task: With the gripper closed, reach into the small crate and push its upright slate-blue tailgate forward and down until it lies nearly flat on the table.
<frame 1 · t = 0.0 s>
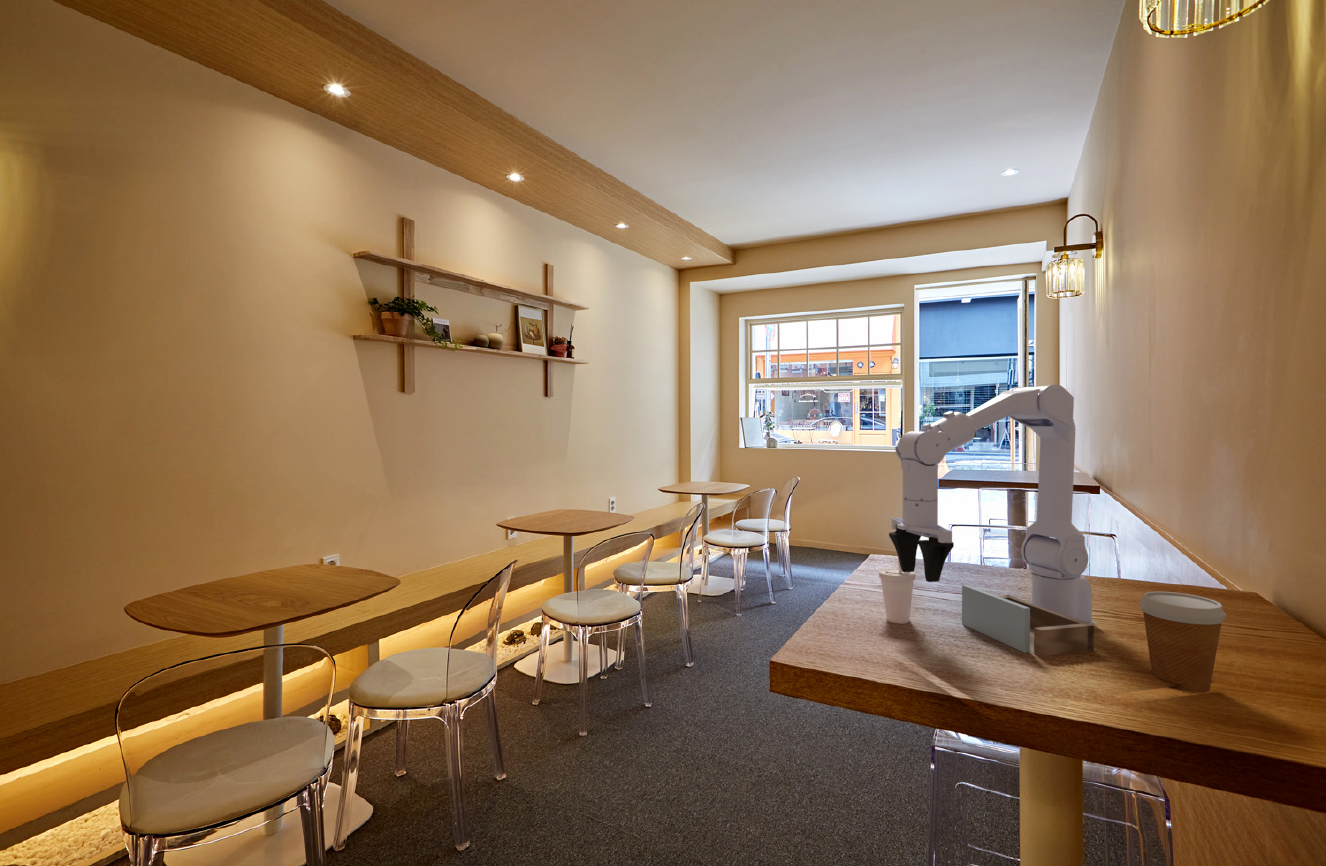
hand: (919, 576, 110), 10 cm above the table, tool pointing down, fingers open, 6 cm apart
disposable coffee cup: (1180, 685, 89), on the table
smoothie: (898, 625, 115), on the table, touching gripper
tailgate: (993, 616, 105), point 4 cm above the table, hinge at 0.0°
crate: (1023, 640, 106), on the table
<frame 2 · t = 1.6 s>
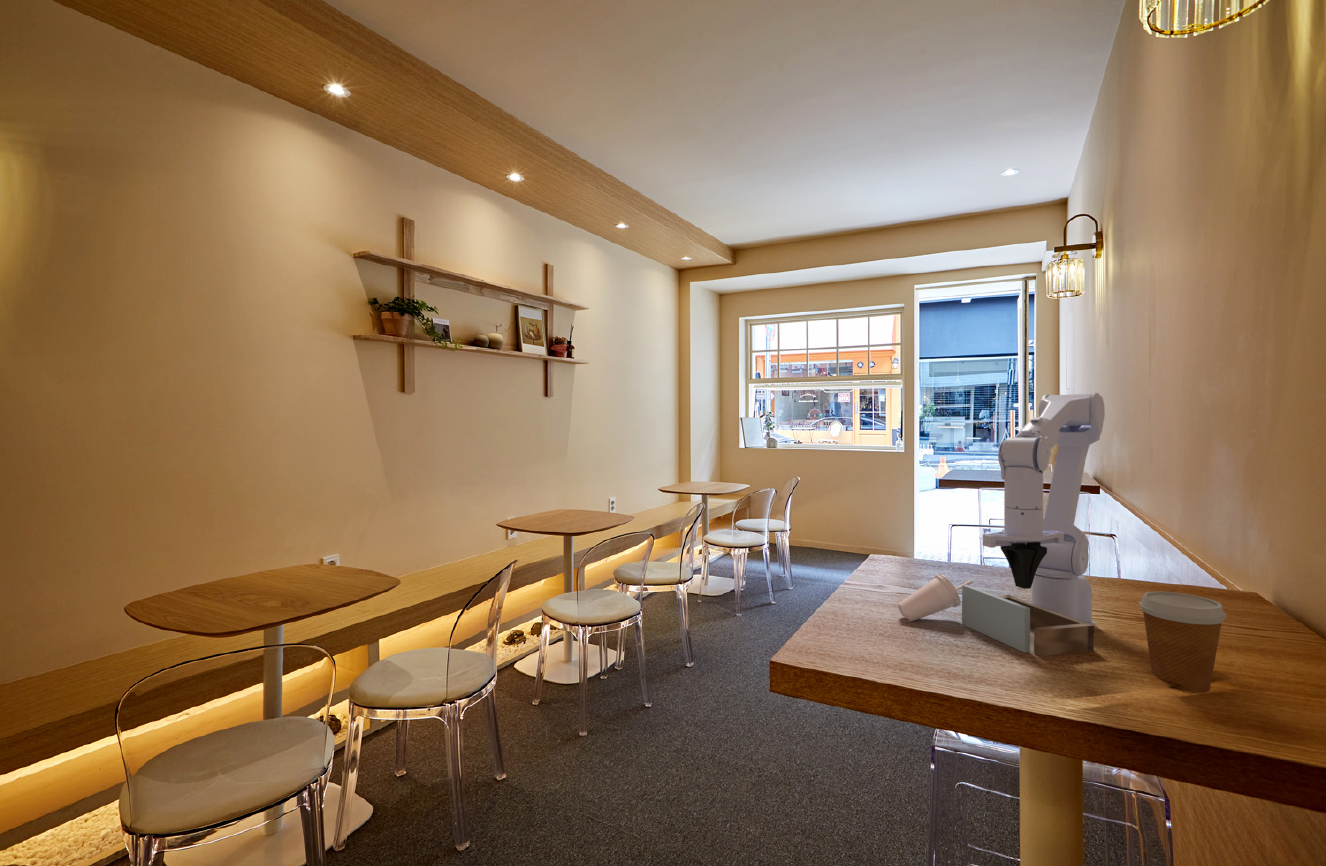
hand: (1023, 587, 106), 9 cm above the table, tool pointing down, fingers closed
smoothie: (902, 613, 115), point 2 cm above the table, touching crate
everything else where it was.
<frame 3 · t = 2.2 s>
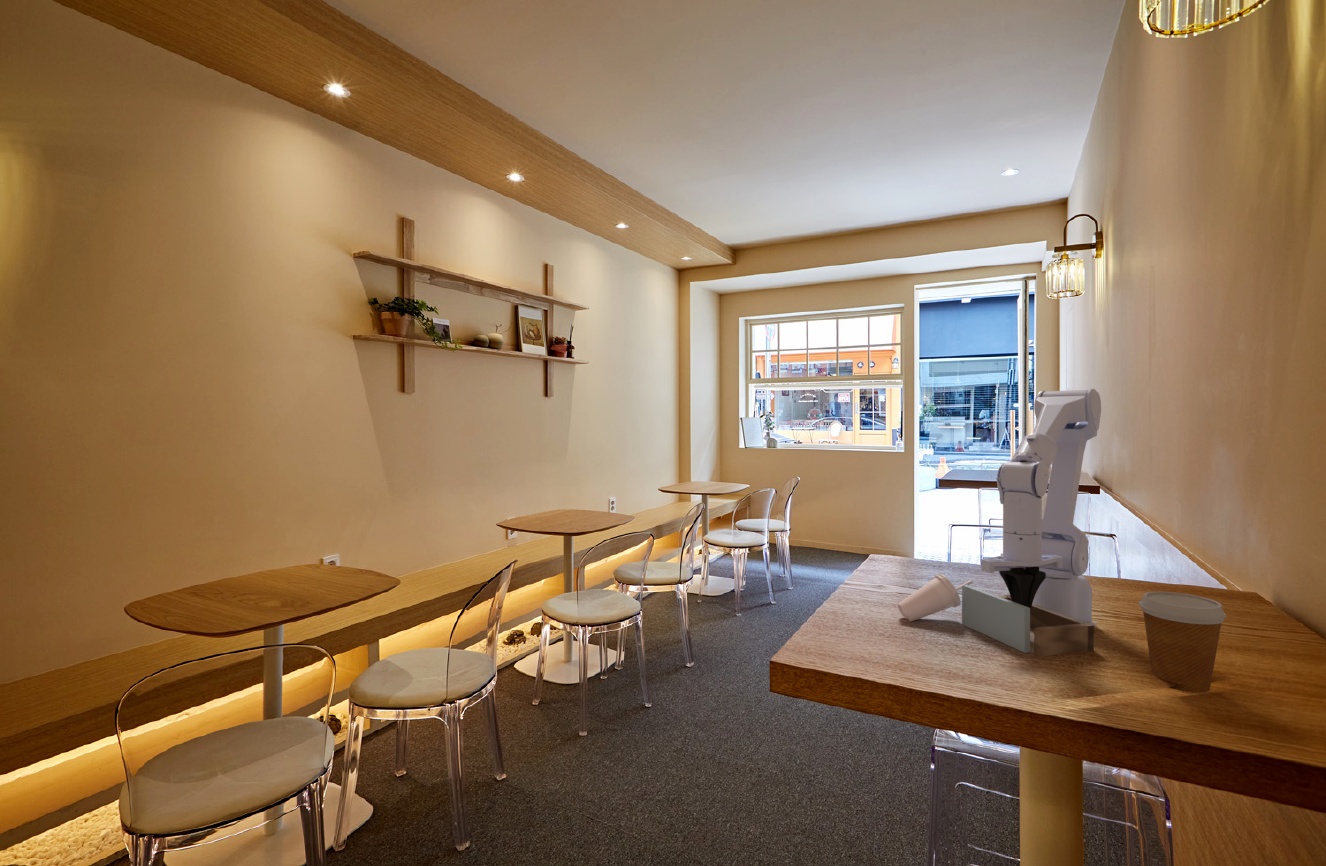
hand: (1021, 611, 106), 5 cm above the table, tool pointing down, fingers closed
nothing on the table moved.
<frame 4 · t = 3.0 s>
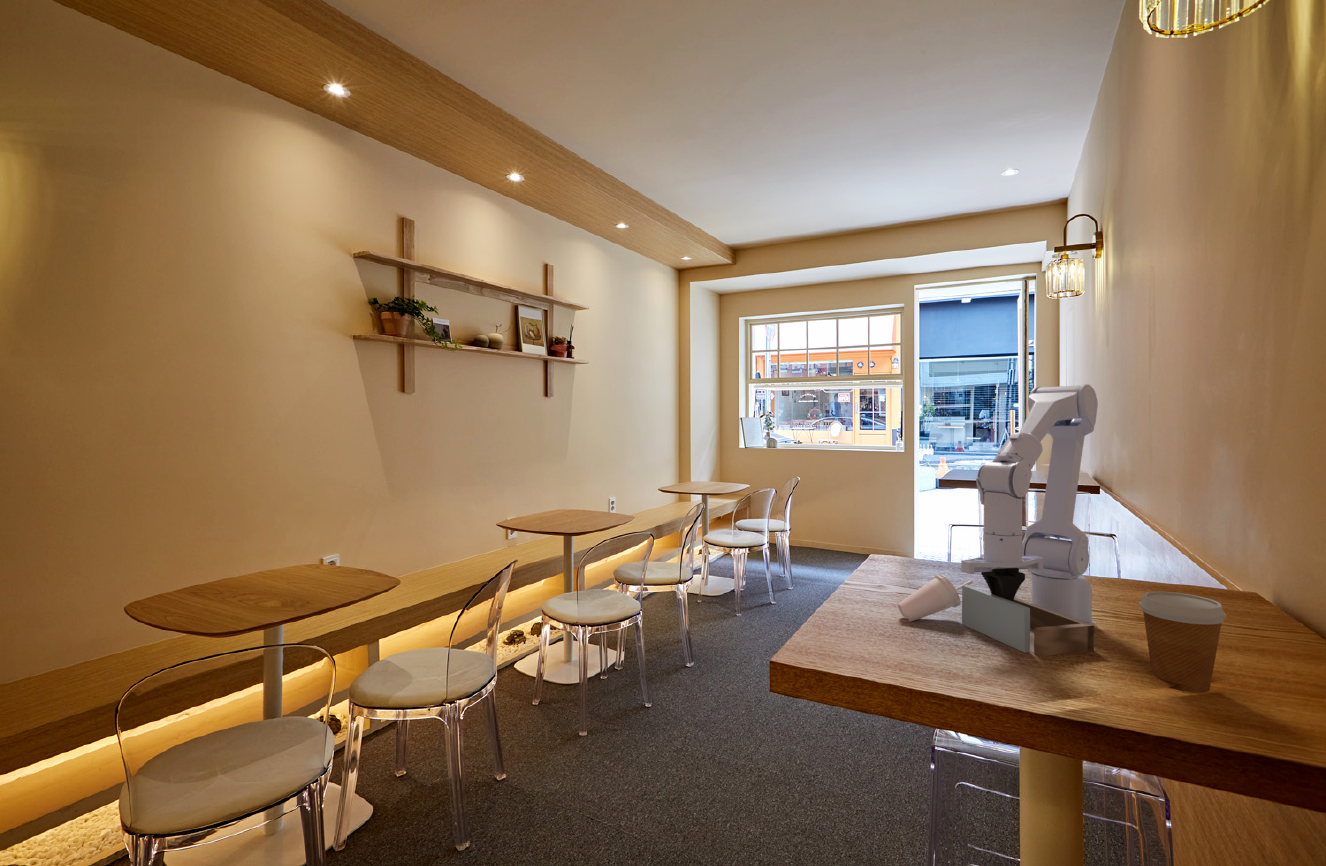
hand: (1002, 613, 105), 5 cm above the table, tool pointing down, fingers closed, pressing on tailgate
tailgate: (993, 616, 105), point 4 cm above the table, hinge at 0.1°, touching gripper
everything else where it was.
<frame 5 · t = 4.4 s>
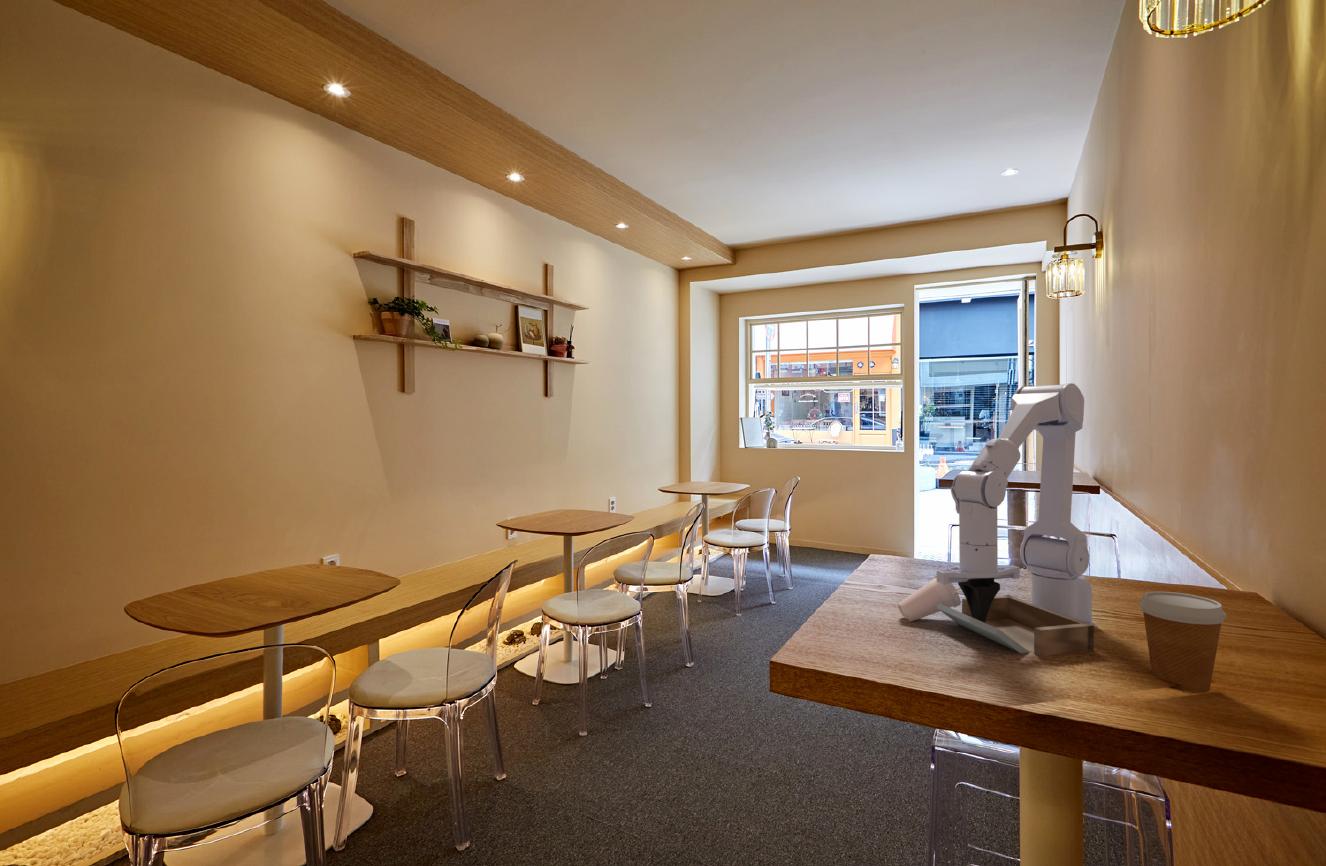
hand: (978, 623, 105), 4 cm above the table, tool pointing down, fingers closed, pressing on tailgate
tailgate: (980, 628, 105), point 3 cm above the table, hinge at 54.2°, touching gripper
everything else where it was.
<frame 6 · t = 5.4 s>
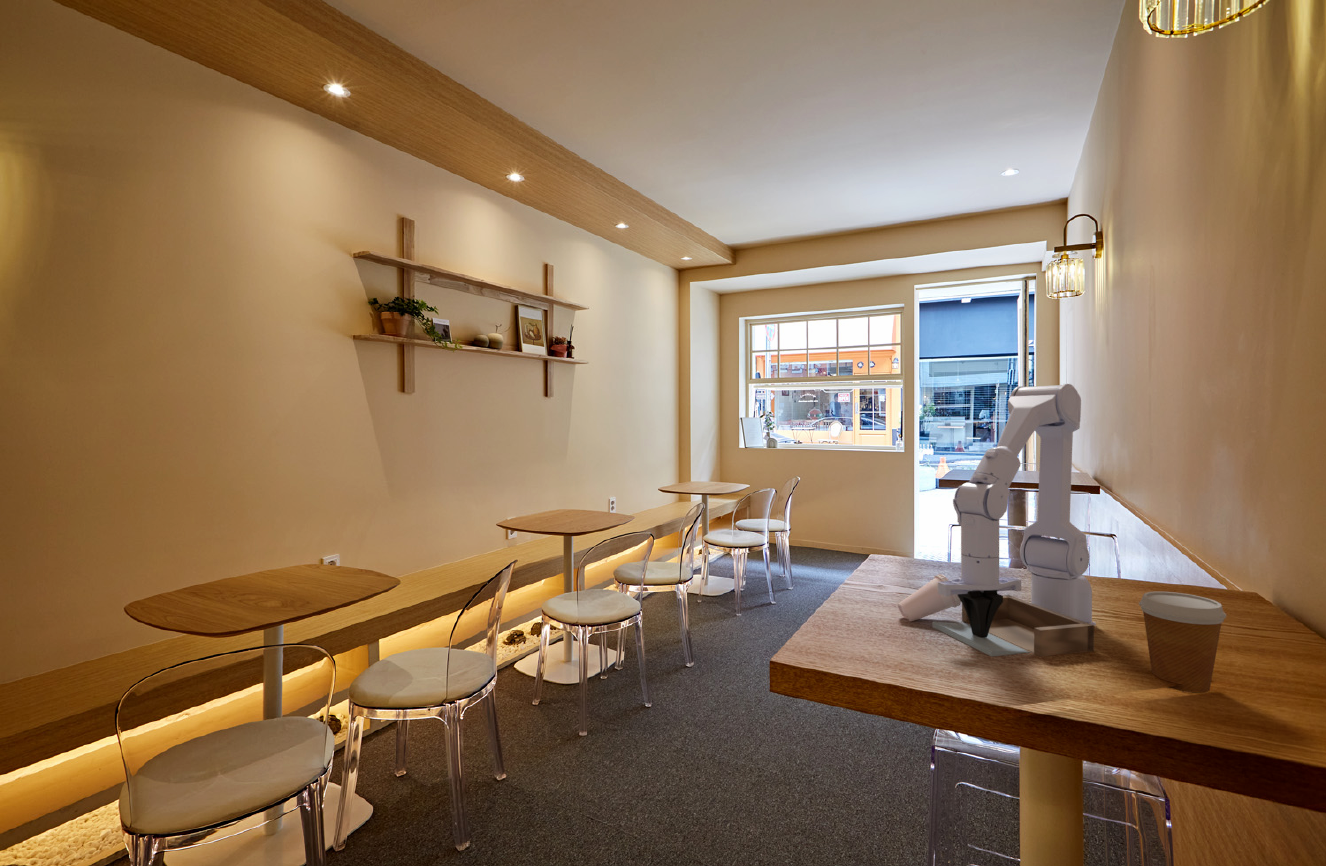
hand: (979, 635, 105), 2 cm above the table, tool pointing down, fingers closed
tailgate: (978, 638, 104), point 1 cm above the table, hinge at 82.7°
everything else where it was.
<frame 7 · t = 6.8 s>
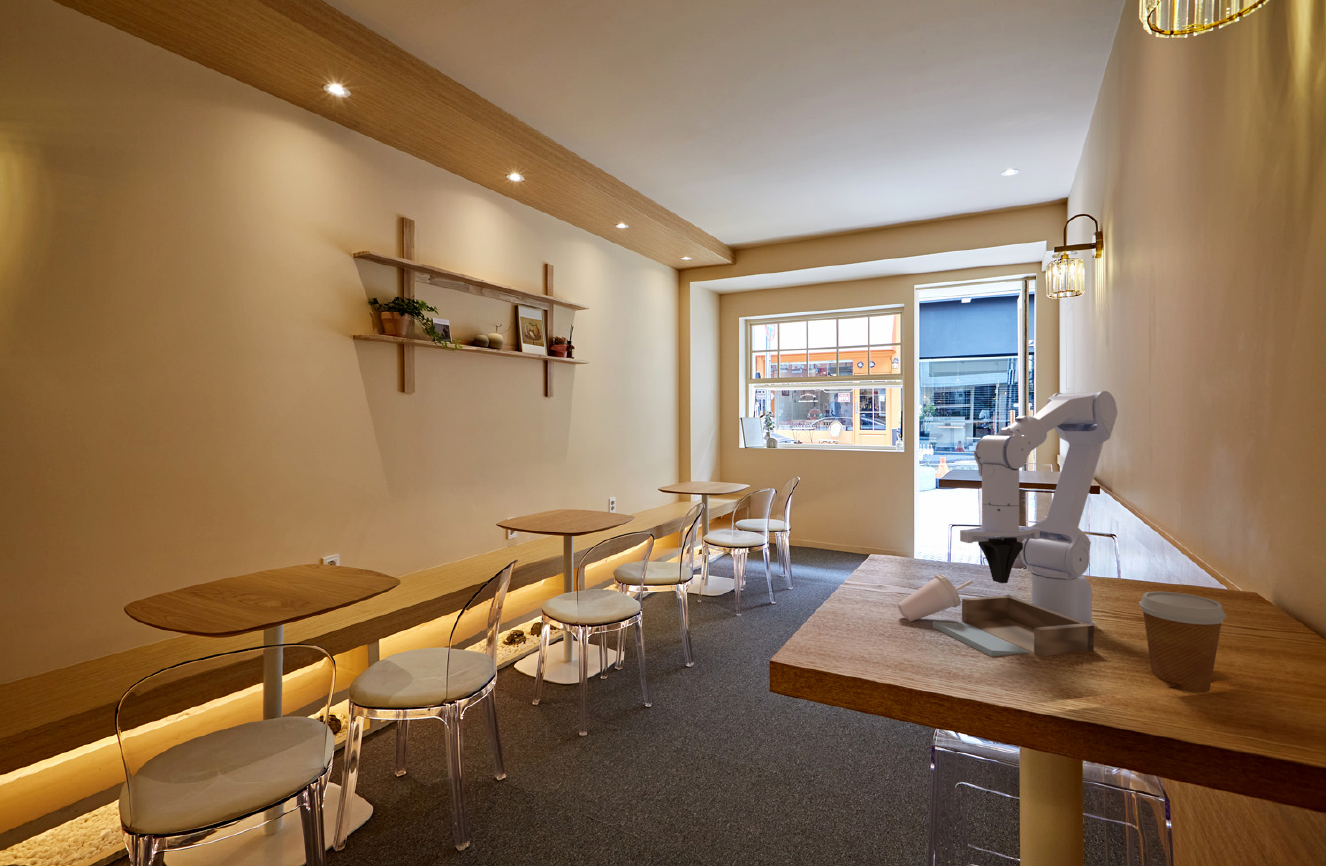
hand: (1000, 581, 109), 9 cm above the table, tool pointing down, fingers closed
nothing on the table moved.
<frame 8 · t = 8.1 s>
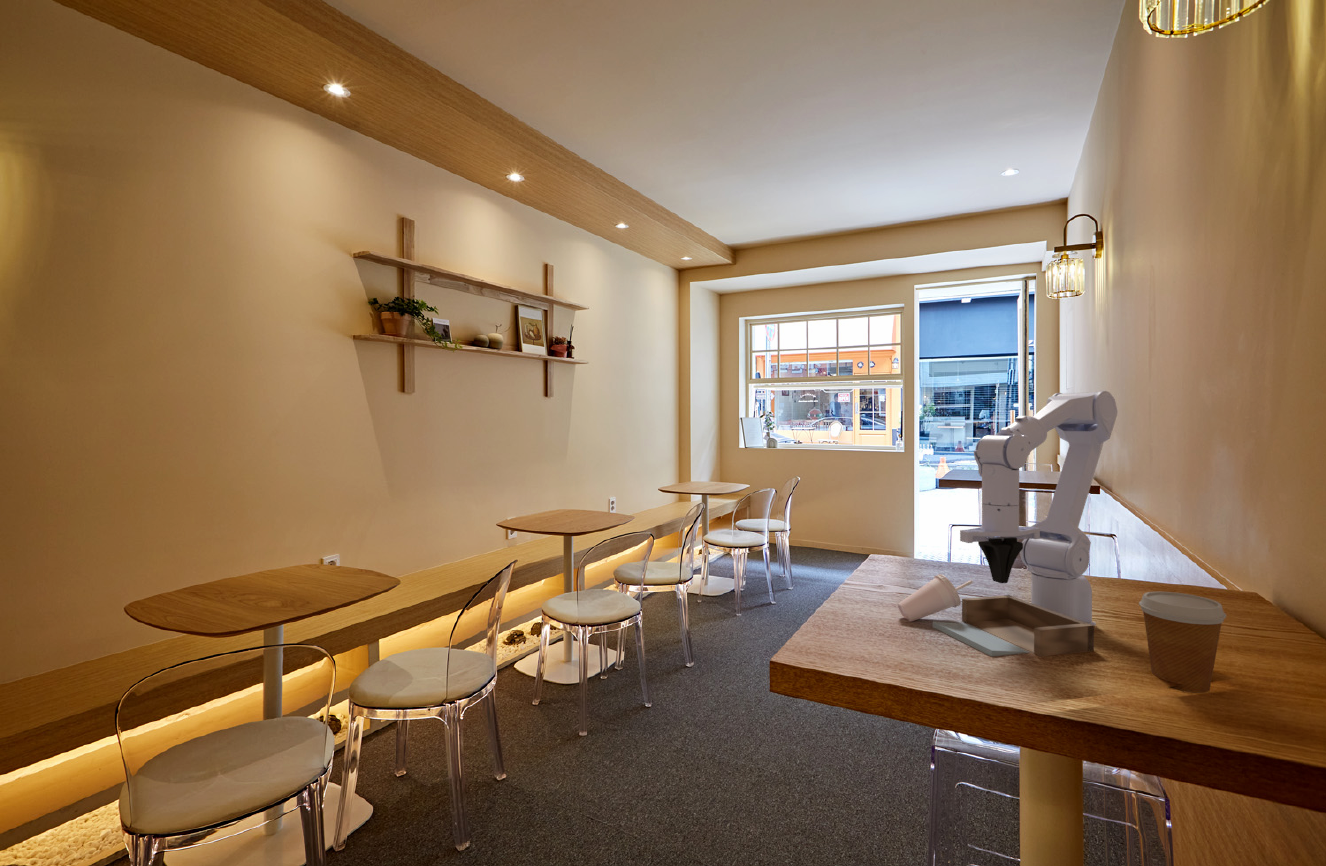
hand: (1000, 581, 109), 9 cm above the table, tool pointing down, fingers closed
nothing on the table moved.
at the end: tailgate at +83° (first picture: +0°); smoothie moved 2.3 cm from its start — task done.
